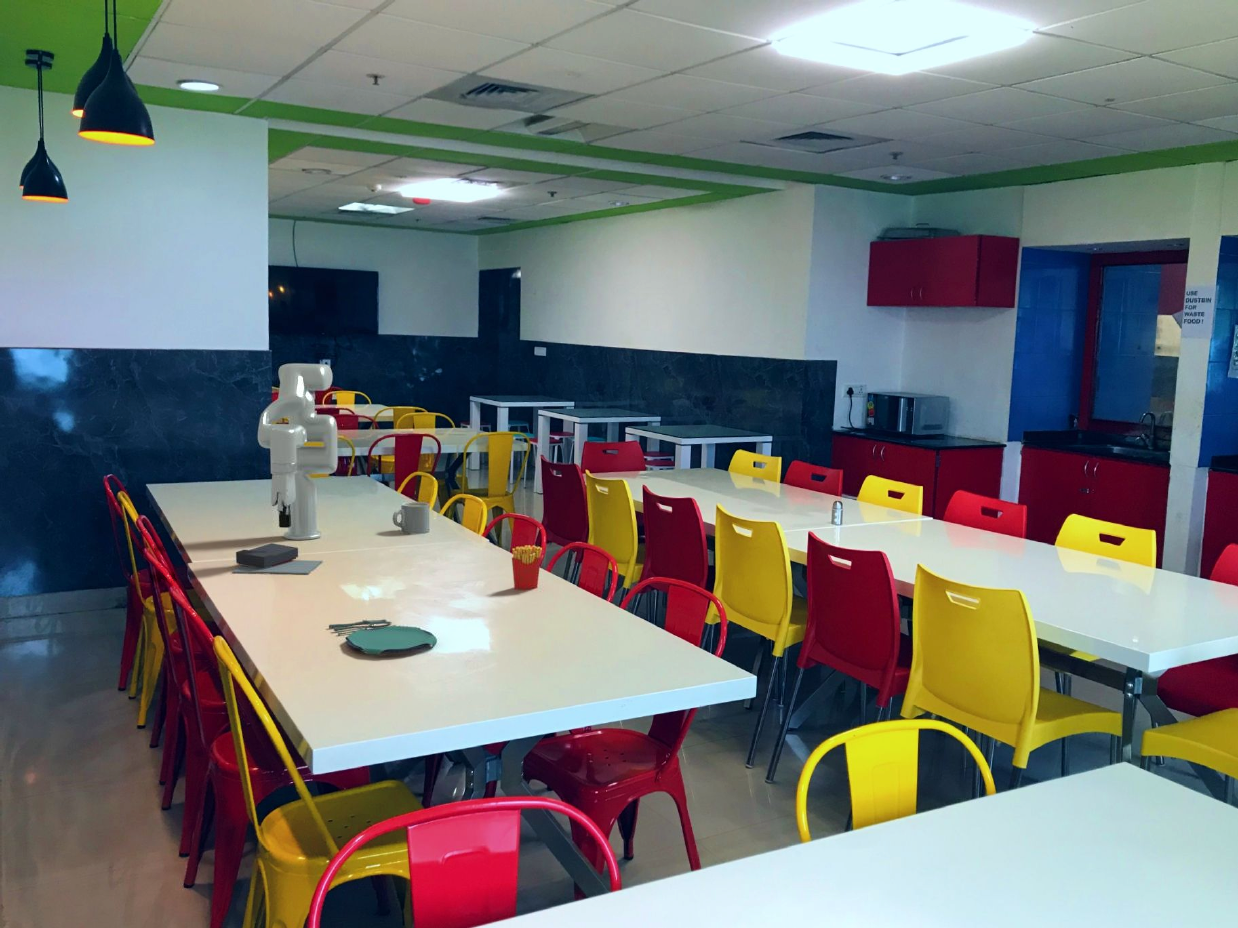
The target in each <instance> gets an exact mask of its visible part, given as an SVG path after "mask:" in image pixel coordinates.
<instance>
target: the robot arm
mask: <svg viewBox="0 0 1238 928" xmlns="http://www.w3.org/2000/svg"><path fill="white" fill-rule="evenodd" d="M278 378H279V382H280V383H279V390H278V397H277V399H276V400H275V401H273V402H271V403H270V404H268V406H267V407H266V408H265V409H264V410H263V412H262V413H261V414H260V417H259V423H258V430H257V441H258V443H259V446H261V447H262V448H265V449H270V474H272V475H271V476H272V477H271V489H270V491H271V492H270V504H271V506H272V507H276V506H277V508H276V511H277V512H278V527H279V528H282V529H283V528H287V529H288V531H287V532H284V533H283V538H285V539H287V540H296V541H297V540H299V541H300V540H301V541H303V540H314V539H318V538H321V537H322V535H323V534H322V531H320V530H318V515H317V514H318V512H317V511H318V508H317V507H318V506H317V505H318V504H317V503H318V501H317V500H318V499H317V498H318V497H317V494H318V493H317V490H318V489H317V485H316V483H315V481H314V479H312V477H311V476H310V475H312V474H313V475H314V474H315V475H317V474H318V475H323V474H324V475H325V474H326V475H328V474H333V473H335V472H336V471H337V468H338V460H339V459H338V426H337V425H338V424H337V420H336V419H335V417H334V416H332V415H330V414H316V413H315V407H316V406H315V404H316V403H315V398H314V397H313V395H312V394H311V393H310V391H327V390H328V389H330V387H331V385H332V384H333V383H332V382H333V372H332V369H331V366H330V365H329V364H324V363H323V364H321V363H286V364H283V365H281V366H280V367H279V368H278ZM287 417H288V424H287V423H285V424H284V423H275V422H277V421H278V420H280V419H284V418H287ZM305 443H321V444H323V445H321V446H320V445H319V446H317V445H316V446H314V445H305Z"/></svg>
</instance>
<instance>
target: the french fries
mask: <svg viewBox="0 0 1238 928" xmlns="http://www.w3.org/2000/svg"><path fill="white" fill-rule="evenodd" d="M542 553H543V548H542V547H540V546H536V545H534V544H533V545H532V546H531V545H530V544H529V545H524V546H516V547H515V548H512V555H513V556H512V557H511V564H512V574H513V576H512V577H513V588H514V589H515V590H521V591H522V590H535V589H537V588H538V584H539V576H540V565H541V555H542Z"/></svg>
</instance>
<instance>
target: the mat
mask: <svg viewBox="0 0 1238 928" xmlns="http://www.w3.org/2000/svg"><path fill="white" fill-rule="evenodd" d="M321 564H323V560H305V559H304V560H301V559H299V560H297V559H294V560H291V561H288V562H285V563H282V564H279V565H276V566H271V567H268V568H265V569H261V568H255V567H250V566H244V565H239V567H237V568H236V569H234V570H232V574H256V573H270V574H271V575H272V573H273V575H310V574H311V573H312V572H313V571H314V570H315V569H316V568H318V567H319V566H320V565H321ZM311 571H312V572H311ZM270 574H269V575H270Z"/></svg>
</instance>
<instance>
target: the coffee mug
mask: <svg viewBox="0 0 1238 928" xmlns="http://www.w3.org/2000/svg"><path fill="white" fill-rule="evenodd" d="M393 512H394V513H393V515H392V522H393V524H394V526H396V527H398V528H401V529H400V531H402V532H403V533H402V532H401V533H402V534H406V533H423V534H427V532H428V533H430V503H428V502H421V501H410V502H409V501H407V502H403V503H401V509H398V510H395V511H393ZM399 515H401V519H400V522H398V516H399Z"/></svg>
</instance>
